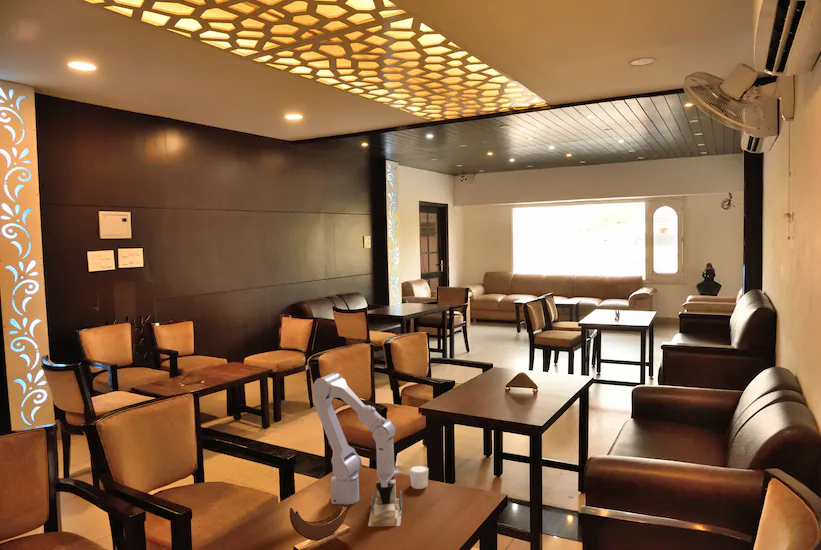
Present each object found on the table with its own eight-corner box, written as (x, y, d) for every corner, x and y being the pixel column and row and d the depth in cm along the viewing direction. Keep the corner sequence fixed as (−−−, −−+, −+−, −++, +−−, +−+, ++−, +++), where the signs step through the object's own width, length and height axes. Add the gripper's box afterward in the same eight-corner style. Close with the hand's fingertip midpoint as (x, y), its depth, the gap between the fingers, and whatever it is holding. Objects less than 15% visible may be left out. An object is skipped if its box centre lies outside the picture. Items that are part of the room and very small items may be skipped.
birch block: (377, 508, 182) (376, 483, 181) (378, 504, 184) (377, 479, 184) (395, 508, 182) (394, 482, 181) (396, 504, 184) (395, 479, 184)
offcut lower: (371, 524, 172) (371, 518, 172) (372, 516, 177) (372, 510, 177) (397, 524, 171) (396, 517, 171) (398, 516, 176) (397, 509, 176)
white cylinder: (429, 483, 201) (429, 465, 201) (428, 492, 194) (427, 473, 194) (410, 483, 202) (410, 464, 202) (409, 492, 195) (408, 472, 195)
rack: (367, 529, 171) (367, 513, 170) (373, 504, 187) (372, 490, 186) (400, 528, 170) (399, 513, 170) (402, 504, 186) (402, 489, 186)
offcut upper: (375, 518, 171) (374, 512, 171) (373, 511, 176) (373, 505, 176) (395, 516, 172) (395, 510, 172) (394, 509, 177) (393, 503, 176)
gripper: (396, 467, 175) (397, 509, 175) (398, 450, 189) (400, 488, 190) (373, 468, 175) (375, 509, 176) (378, 450, 189) (379, 489, 190)
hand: (386, 499), depth 183 cm, fingers open, 7 cm apart
